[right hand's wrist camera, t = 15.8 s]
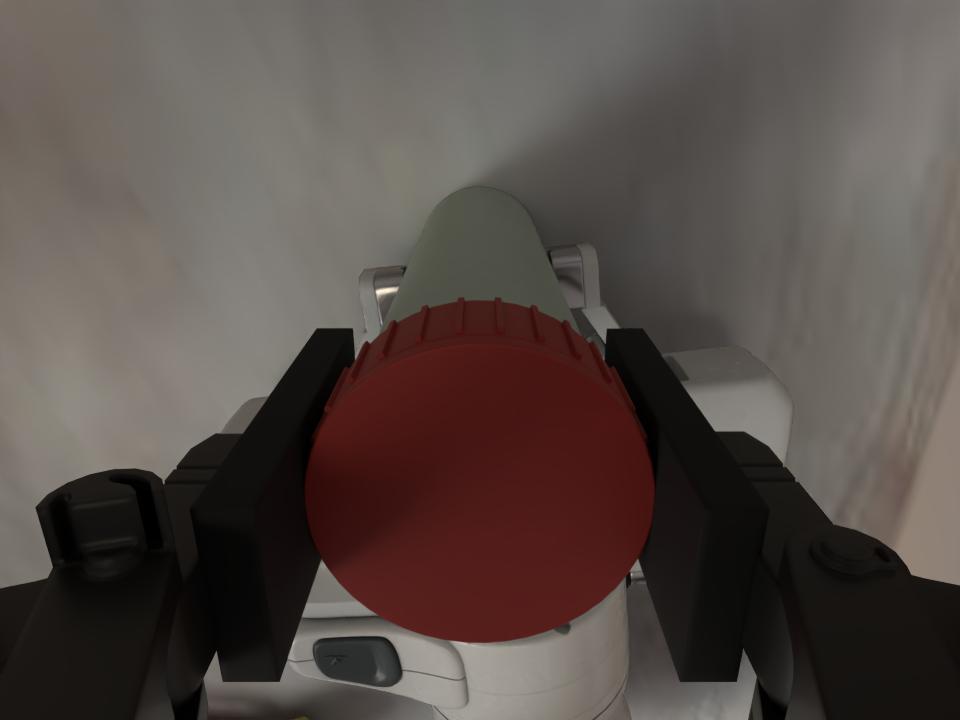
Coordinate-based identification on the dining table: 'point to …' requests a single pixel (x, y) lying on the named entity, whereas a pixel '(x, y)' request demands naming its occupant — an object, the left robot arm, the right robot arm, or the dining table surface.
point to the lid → (479, 474)
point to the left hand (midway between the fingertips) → (475, 259)
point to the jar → (479, 258)
